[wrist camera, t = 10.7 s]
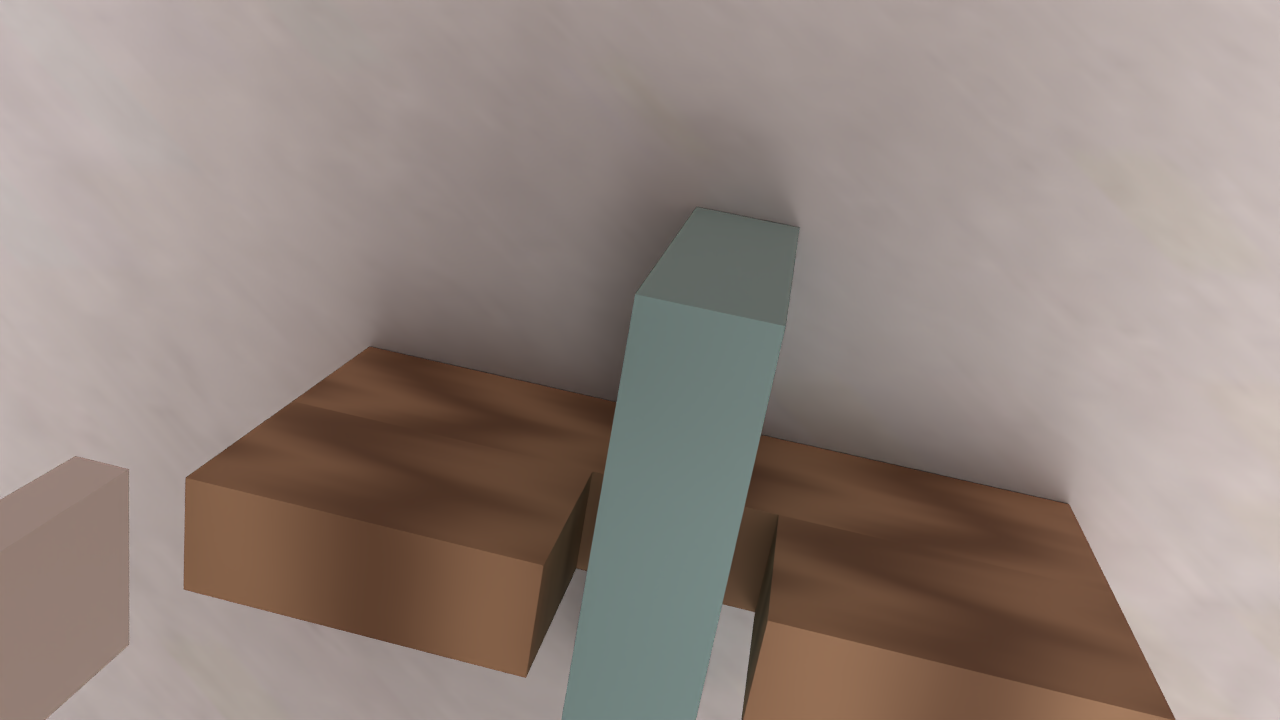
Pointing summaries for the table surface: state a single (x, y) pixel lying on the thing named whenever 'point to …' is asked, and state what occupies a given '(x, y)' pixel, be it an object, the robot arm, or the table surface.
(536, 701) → the table surface
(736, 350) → the teal notched bridge
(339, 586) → the notched wooden saddle block
